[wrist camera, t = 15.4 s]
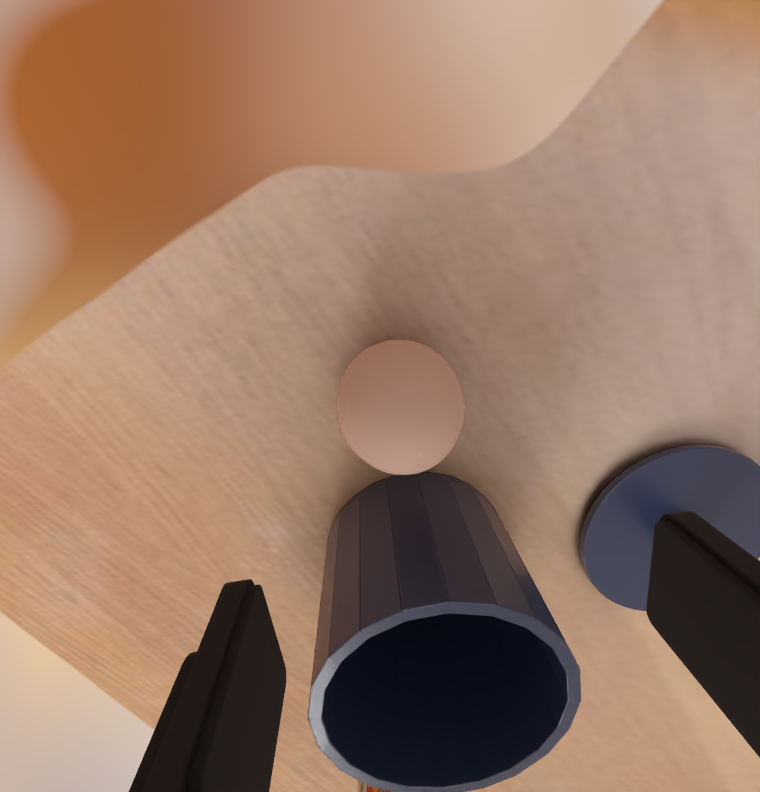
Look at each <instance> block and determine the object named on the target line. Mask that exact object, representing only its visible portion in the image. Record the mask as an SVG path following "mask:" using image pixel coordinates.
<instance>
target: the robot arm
mask: <svg viewBox="0 0 760 792" xmlns="http://www.w3.org/2000/svg"><path fill="white" fill-rule="evenodd" d="M646 611H647V615H648V618H649V620H650V622H651V624H652V625H653V626H654V628H655V629H656V630H657V631H658V633H659V634H660V635H661V636H662V638H663V639H664V640H665V641H666V643H667V644H668V645H669V646H670V648H671V649H672V650H673V651H674V652H675V654H676V655H677V656H678V657H679V659H680V660H681V661H682V662H683V664H684V665H685V666H686V667H687V668H688V670H689V671H690V672H691V673H692V675H693V676H694V677H695V678H696V680H697V681H698V682H699V683H700V684H701V686H702V687H703V688H704V689H705V691H706V692H707V693H708V694H709V696H710V697H711V698H712V699H713V701H714V702H715V703H716V704H717V705H718V707H719V708H720V709H721V710H722V712H723V713H724V714H725V715H726V717H727V718H728V719H729V720H730V721H731V723H732V724H733V725H734V726H735V728H736V729H737V730H738V731H739V733H740V734H741V735H742V736H743V737H744V739H745V740H746V741H747V742H748V744H749V745H750V746H751V747H752V749H753V750H754V751H755V752H756V753H757V755H758V756H759V757H760V561H759V560H757V559H756V558H755V557H753V556H752V555H751V554H749V553H748V552H747V551H745V550H744V549H743V548H741V547H740V546H739V545H737V544H736V543H735V542H733V541H732V540H731V539H729V538H728V537H727V536H725V535H724V534H723V533H721V532H720V531H719V530H717V529H716V528H715V527H713V526H712V525H711V524H709V523H708V522H707V521H705V520H704V519H703V518H701V517H700V516H699V515H697V514H696V513H694V512H692V511H683V512H677V513H671V514H665V515H663V516H662V517H661V518H660V522H657V523H656V524H655V528H654V538H653V548H652V557H651V567H650V577H649V587H648V596H647V606H646ZM285 687H286V668H285V664H284V660H283V657H282V654H281V650H280V647H279V643H278V640H277V637H276V633H275V630H274V627H273V623H272V620H271V617H270V613H269V610H268V606H267V603H266V600H265V596H264V593H263V590H262V587H261V585H254V583H253V581H252V580H250V579H249V580H242V581H236V582H230V583H226V584H225V585H224V586H223V588H222V590H221V593H220V595H219V598H218V600H217V603H216V606H215V608H214V611H213V613H212V616H211V618H210V621H209V623H208V626H207V628H206V631H205V633H204V636H203V638H202V641H201V644H200V646H199V649H198V651H197V652H193V653H190V654H189V655H188V656H187V657H186V659H185V660H184V662H183V664H182V666H181V669H180V671H179V673H178V676H177V678H176V680H175V683H174V685H173V688H172V690H171V692H170V695H169V697H168V700H167V702H166V704H165V707H164V709H163V712H162V714H161V716H160V719H159V721H158V723H157V726H156V728H155V731H154V733H153V735H152V738H151V740H150V743H149V745H148V747H147V750H146V752H145V754H144V757H143V759H142V762H141V764H140V767H139V769H138V771H137V774H136V776H135V778H134V781H133V783H132V786H131V788H130V790H129V792H269V788H270V782H271V776H272V769H273V763H274V757H275V750H276V744H277V737H278V731H279V725H280V718H281V712H282V706H283V699H284V693H285Z"/></svg>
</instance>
